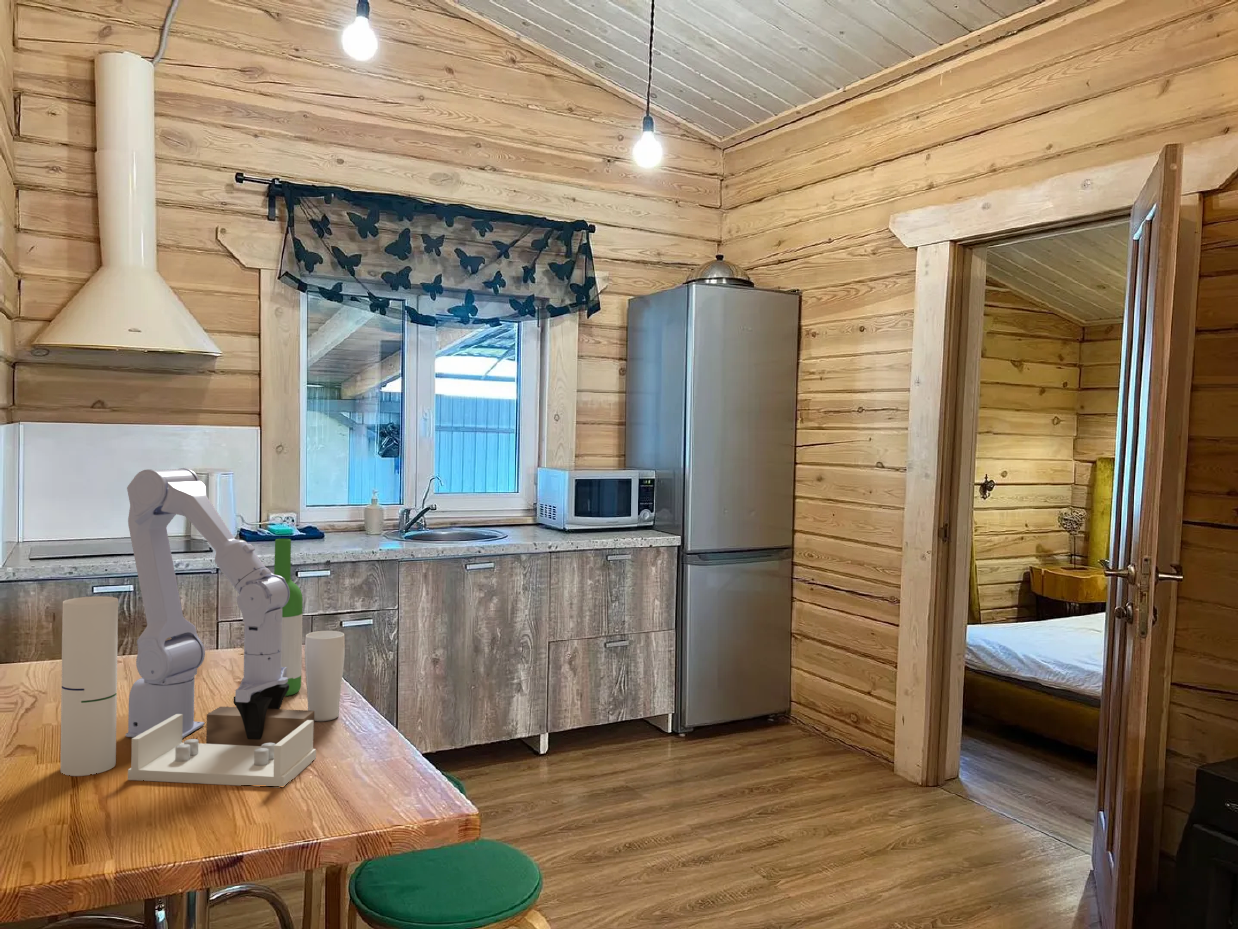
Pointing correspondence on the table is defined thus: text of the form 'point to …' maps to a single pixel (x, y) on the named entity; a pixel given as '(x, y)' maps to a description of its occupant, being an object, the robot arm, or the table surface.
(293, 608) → the wine bottle
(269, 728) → the brown wooden bar
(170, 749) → the shelf stand
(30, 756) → the table surface
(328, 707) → the drinking glass
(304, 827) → the table surface
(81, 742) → the cylindrical container
